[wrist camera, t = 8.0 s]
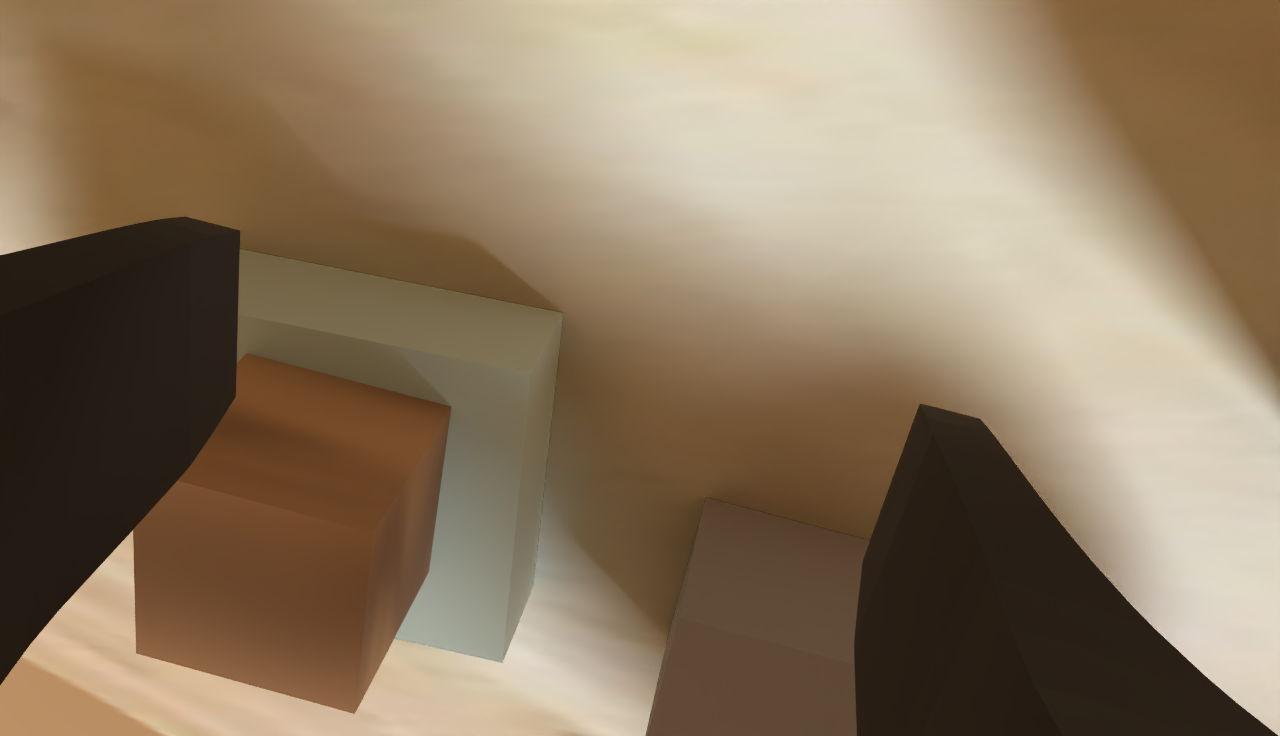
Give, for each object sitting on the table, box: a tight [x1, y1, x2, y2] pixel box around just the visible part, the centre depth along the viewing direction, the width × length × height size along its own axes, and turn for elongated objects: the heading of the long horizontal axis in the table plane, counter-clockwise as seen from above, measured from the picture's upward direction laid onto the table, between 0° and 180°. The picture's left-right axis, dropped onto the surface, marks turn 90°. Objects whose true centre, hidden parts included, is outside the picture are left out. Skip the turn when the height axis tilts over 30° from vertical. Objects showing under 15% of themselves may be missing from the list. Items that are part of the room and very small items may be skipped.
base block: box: [237, 249, 564, 663], centre depth 25 cm, size 7×7×3 cm
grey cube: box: [646, 498, 870, 736], centre depth 24 cm, size 4×4×4 cm
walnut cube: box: [133, 353, 451, 714], centre depth 22 cm, size 4×4×4 cm
